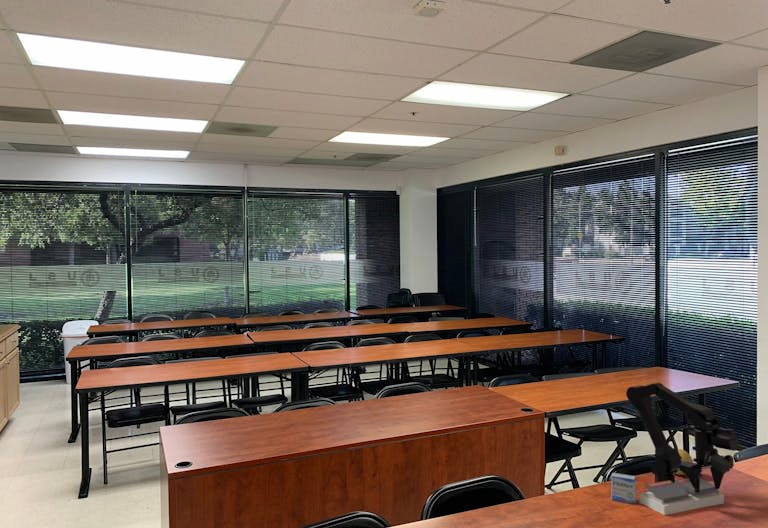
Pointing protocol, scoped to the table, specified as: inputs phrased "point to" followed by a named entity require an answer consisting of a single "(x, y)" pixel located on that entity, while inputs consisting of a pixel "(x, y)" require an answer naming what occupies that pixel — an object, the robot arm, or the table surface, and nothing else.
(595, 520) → the table surface
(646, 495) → the light switch base
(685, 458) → the stress ball
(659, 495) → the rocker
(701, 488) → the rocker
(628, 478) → the medicine box
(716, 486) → the robot arm
